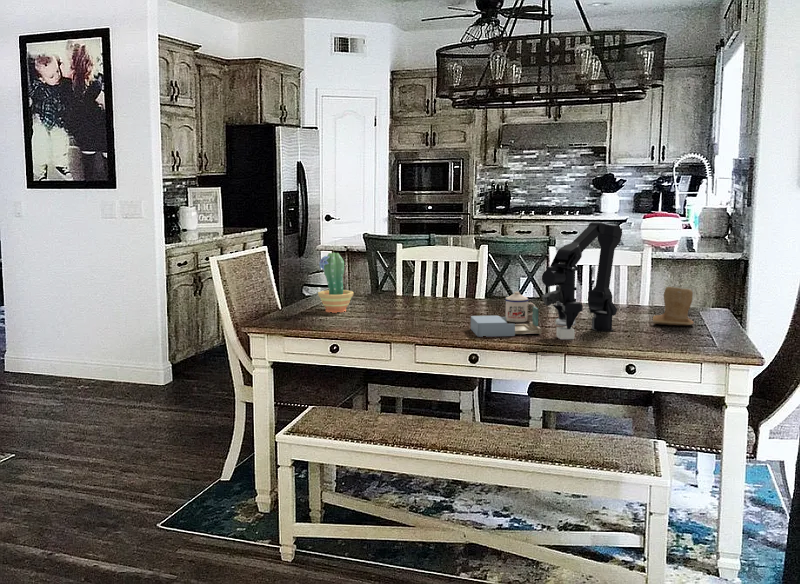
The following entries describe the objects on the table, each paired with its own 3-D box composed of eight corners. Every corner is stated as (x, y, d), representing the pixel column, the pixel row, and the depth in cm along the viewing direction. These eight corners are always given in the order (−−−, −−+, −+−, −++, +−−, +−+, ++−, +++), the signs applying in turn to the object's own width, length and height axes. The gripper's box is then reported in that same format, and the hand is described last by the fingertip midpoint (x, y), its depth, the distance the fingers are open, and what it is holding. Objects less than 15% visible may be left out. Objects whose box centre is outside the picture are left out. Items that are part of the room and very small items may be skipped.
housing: (505, 328, 297) (506, 315, 296) (514, 335, 283) (515, 322, 282) (470, 329, 296) (470, 316, 295) (477, 336, 282) (478, 323, 281)
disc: (571, 321, 283) (572, 317, 283) (578, 325, 276) (578, 320, 276) (553, 322, 282) (553, 317, 282) (558, 326, 275) (558, 321, 275)
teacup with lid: (504, 322, 309) (505, 293, 307) (504, 318, 318) (505, 289, 316) (535, 323, 307) (536, 293, 306) (534, 318, 316) (535, 290, 314)
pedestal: (569, 336, 283) (570, 326, 282) (574, 339, 278) (574, 329, 277) (556, 336, 282) (556, 326, 282) (560, 339, 277) (560, 329, 277)
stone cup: (692, 322, 308) (694, 285, 305) (694, 328, 296) (696, 289, 294) (651, 320, 312) (653, 283, 310) (652, 326, 301) (654, 287, 298)
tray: (531, 326, 297) (532, 304, 296) (540, 333, 284) (541, 310, 283) (496, 327, 296) (496, 305, 295) (504, 334, 283) (504, 311, 282)
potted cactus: (321, 307, 344) (320, 250, 340) (356, 308, 342) (355, 251, 338) (314, 313, 328) (313, 254, 325) (350, 314, 327) (350, 254, 323)
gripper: (537, 280, 285) (536, 322, 288) (552, 288, 267) (550, 332, 269) (567, 280, 286) (565, 322, 289) (583, 287, 268) (582, 332, 270)
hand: (565, 327), depth 279 cm, fingers closed on disc, 7 cm apart
